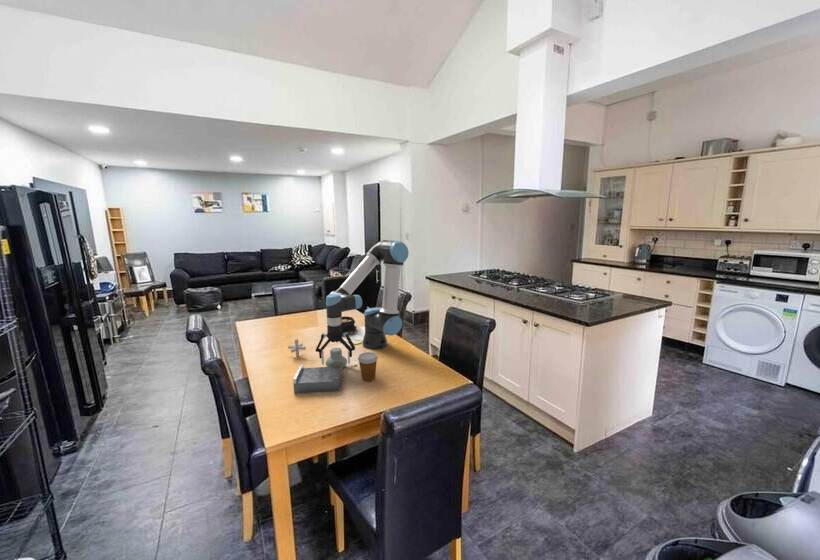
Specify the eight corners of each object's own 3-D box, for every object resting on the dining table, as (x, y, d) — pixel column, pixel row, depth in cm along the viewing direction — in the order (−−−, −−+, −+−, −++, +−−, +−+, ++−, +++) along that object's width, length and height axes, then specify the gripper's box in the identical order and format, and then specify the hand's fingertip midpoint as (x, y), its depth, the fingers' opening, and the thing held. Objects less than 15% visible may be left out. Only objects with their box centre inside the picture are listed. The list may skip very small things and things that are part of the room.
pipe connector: (301, 360, 193) (300, 343, 191) (284, 358, 195) (283, 341, 193) (309, 353, 203) (308, 337, 201) (294, 352, 205) (292, 335, 203)
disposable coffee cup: (370, 385, 164) (369, 361, 162) (354, 380, 169) (353, 357, 167) (382, 377, 172) (381, 354, 170) (367, 372, 177) (366, 350, 175)
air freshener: (326, 372, 178) (325, 353, 176) (325, 365, 186) (324, 347, 184) (347, 369, 181) (347, 351, 179) (346, 363, 189) (345, 345, 187)
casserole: (325, 328, 248) (324, 316, 247) (350, 324, 257) (349, 313, 256) (335, 338, 227) (334, 326, 225) (362, 333, 235) (361, 322, 234)
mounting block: (342, 375, 174) (342, 362, 173) (339, 391, 158) (338, 377, 157) (301, 377, 172) (300, 364, 171) (294, 393, 156) (293, 379, 155)
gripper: (308, 327, 174) (310, 367, 178) (358, 325, 177) (359, 365, 180) (311, 322, 182) (313, 361, 185) (359, 321, 184) (360, 359, 188)
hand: (336, 363), depth 183 cm, fingers open, 13 cm apart
